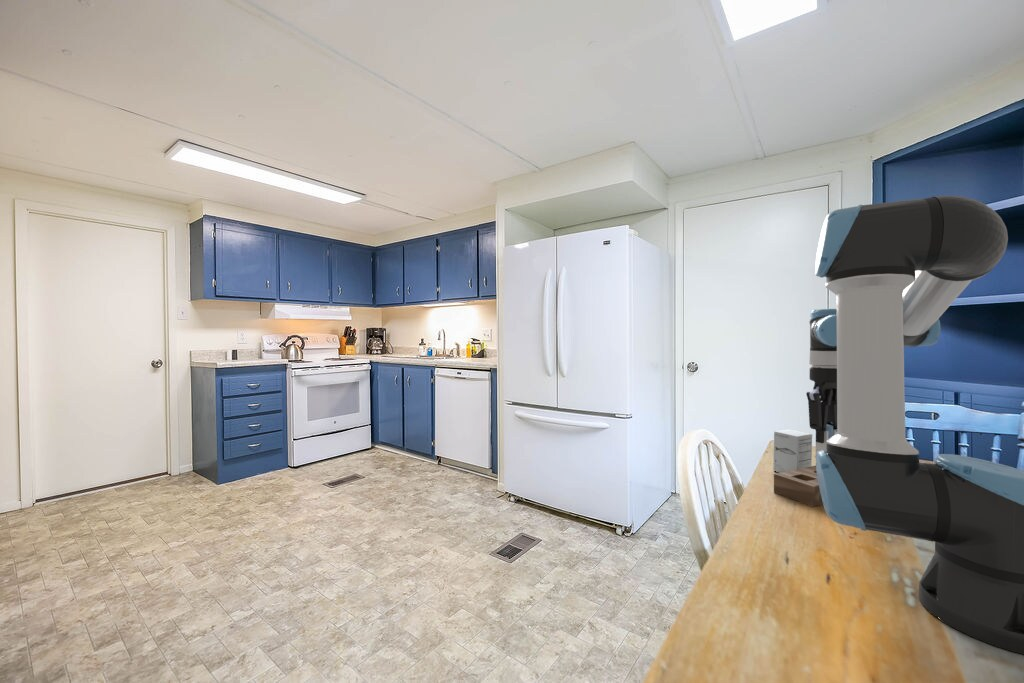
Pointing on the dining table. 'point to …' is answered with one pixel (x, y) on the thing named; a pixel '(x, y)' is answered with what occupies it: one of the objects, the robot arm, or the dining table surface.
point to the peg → (829, 431)
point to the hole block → (799, 485)
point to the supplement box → (792, 450)
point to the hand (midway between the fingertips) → (825, 453)
